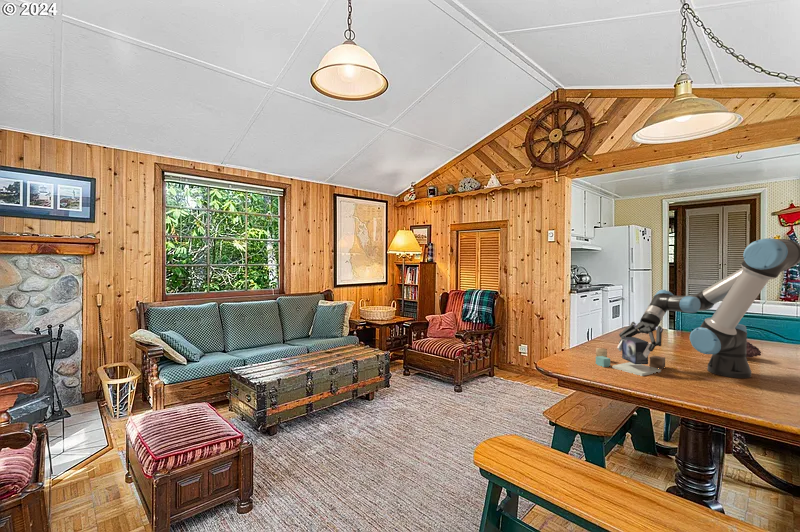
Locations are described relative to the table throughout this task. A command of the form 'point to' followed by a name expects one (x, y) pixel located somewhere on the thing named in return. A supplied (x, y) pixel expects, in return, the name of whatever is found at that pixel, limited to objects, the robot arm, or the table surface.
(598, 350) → the oak cylinder
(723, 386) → the table surface
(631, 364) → the tile
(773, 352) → the table surface
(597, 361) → the teal block
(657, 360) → the walnut block
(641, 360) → the small box
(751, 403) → the table surface
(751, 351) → the pine cone
